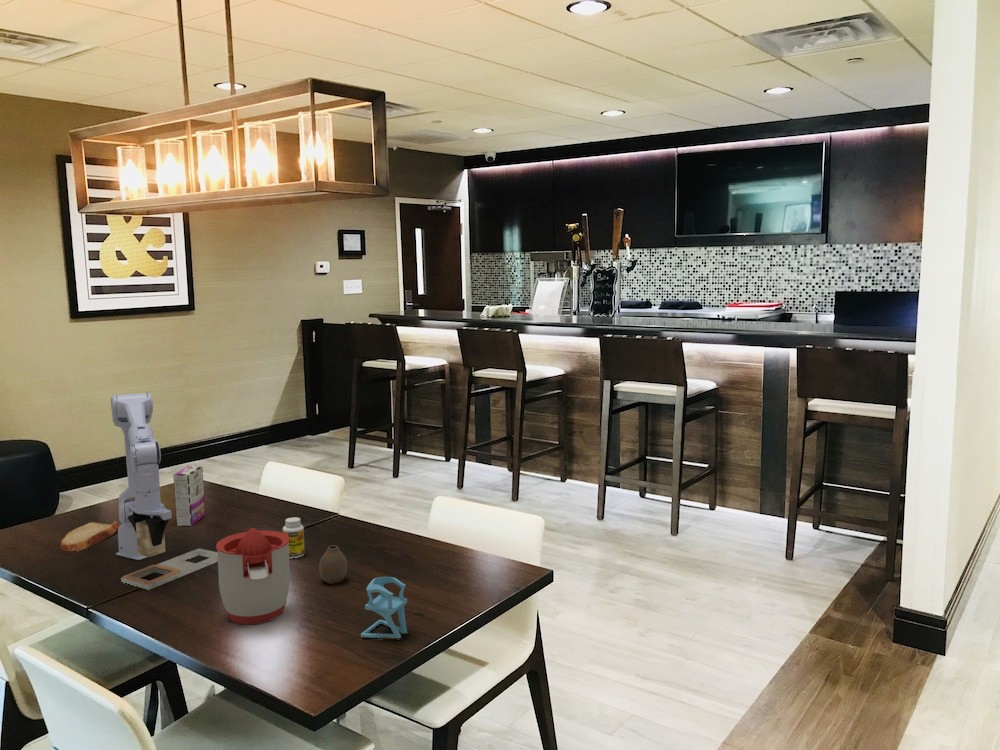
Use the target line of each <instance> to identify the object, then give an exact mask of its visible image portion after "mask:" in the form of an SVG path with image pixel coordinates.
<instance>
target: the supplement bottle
mask: <svg viewBox="0 0 1000 750" xmlns="http://www.w3.org/2000/svg"><path fill="white" fill-rule="evenodd" d="M282 533H285V534H286V535H288V536H289V538H290V541H289V560H290V559H291V560H294V559H293V558H295V559H299V557H300V558H302V557H303V556H304V555H305V527H304V525H303V524H302V522H301V518H300V517H294V516H293V517H288V518H286V519H285V525H284V526H283V527H282Z"/></svg>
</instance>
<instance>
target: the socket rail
mask: <svg viewBox="0 0 1000 750" xmlns="http://www.w3.org/2000/svg"><path fill="white" fill-rule="evenodd" d="M198 556H201V557H205V558H206V559H204V560H201V561H199V562H196V563H195V562H191V561H187V559H188V560H190V559H192V558H193V559H194V558H195V557H198ZM215 563H218V553H217V551H212V550H209V549H208V550H207V549H204V548H196V549H193V550H191V551H189V552H188V551H187V552H186V553H183V554H181V555H177V556H175V557H173V558H171V559H167V560H165V561H162V562H160V563H157V564H151V565H148V566H146V567H143V568H141V569H138V570H135V571H133V572H130V573H127V574H125V575H123V576H122V577H120V580H121V581H120V582H123V583H122V584H125V583H127V584H126V585H128V584H130V585H129V586H132V585H133V586H134V587H136V586H137V587H136V588H141V589H143V590H144V589H145V590H147V591H150V590H152V589H155V588H157V587H159V586H162V585H164V584H167V583H169V582H172V581H174V580H177V579H179V578H182V577H185V576H186V575H189V574H191V573H193V572H196V571H199V570H201V569H203V568H206V567H208V566H210V565H213V564H215ZM154 573H156V574H160V576H159V577H155V578H153V579H151V580H148V579H144V577H147V576H149V575H151V574H154ZM146 575H147V576H146ZM133 586H132V587H133Z"/></svg>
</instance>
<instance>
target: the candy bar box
mask: <svg viewBox="0 0 1000 750" xmlns="http://www.w3.org/2000/svg"><path fill="white" fill-rule="evenodd" d="M203 473H204V472H203V465H188V466H185V467H184V468H182V469H181V470H179V471H177V472H176V473H173V475H172V476H173V489H174V501H175V504H174V505H175V514H176V515H175V518H176V526H177V527H193V526H194V525H195V524H196V523H198V522H199V521H200V520H202V518H204V517H205V516H206V503H205V491H204V489H205V488H204V487H205V486H204V474H203ZM203 516H204V517H203ZM198 520H199V521H198ZM197 521H198V522H197ZM192 525H193V526H192Z"/></svg>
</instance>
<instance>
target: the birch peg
mask: <svg viewBox="0 0 1000 750" xmlns="http://www.w3.org/2000/svg"><path fill="white" fill-rule="evenodd" d="M136 533H137V550H138V554H139V555H143V556H147V558H151V557H155V556H157V555H159V554H163V553H166V540H165V538H166V537H165V535H166V534H165V533H164V534H163V539H162V544H160V545H157V546H153V545H152V542H151V535H150V531H149V528H148V525H147V524H146V522H145V520H144V521H141V522H137V523H136Z"/></svg>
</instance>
